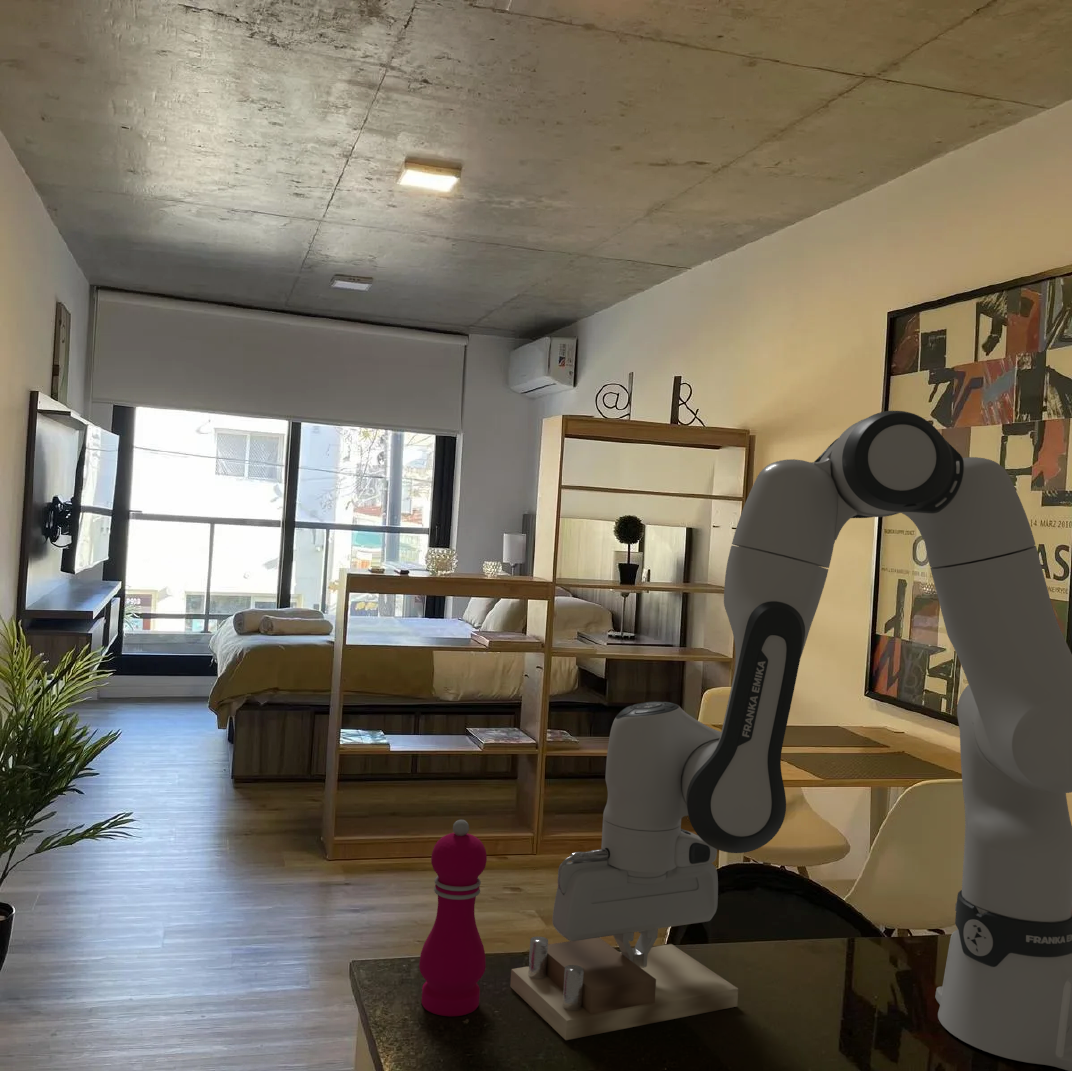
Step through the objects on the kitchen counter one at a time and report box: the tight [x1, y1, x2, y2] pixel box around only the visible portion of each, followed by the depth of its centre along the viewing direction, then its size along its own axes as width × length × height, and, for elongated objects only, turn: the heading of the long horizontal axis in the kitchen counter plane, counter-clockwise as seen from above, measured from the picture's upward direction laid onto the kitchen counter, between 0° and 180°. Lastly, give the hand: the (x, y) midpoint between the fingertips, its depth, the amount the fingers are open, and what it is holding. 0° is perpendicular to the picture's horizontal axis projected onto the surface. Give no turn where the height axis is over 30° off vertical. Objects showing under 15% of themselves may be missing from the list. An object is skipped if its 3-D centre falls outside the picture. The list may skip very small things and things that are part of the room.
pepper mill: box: [418, 819, 488, 1017], centre depth 111 cm, size 7×7×20 cm
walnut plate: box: [546, 937, 656, 1014], centre depth 113 cm, size 8×12×2 cm, turn 27°
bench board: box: [509, 936, 739, 1041], centre depth 115 cm, size 22×13×6 cm, turn 117°
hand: (633, 967), depth 116 cm, fingers closed
